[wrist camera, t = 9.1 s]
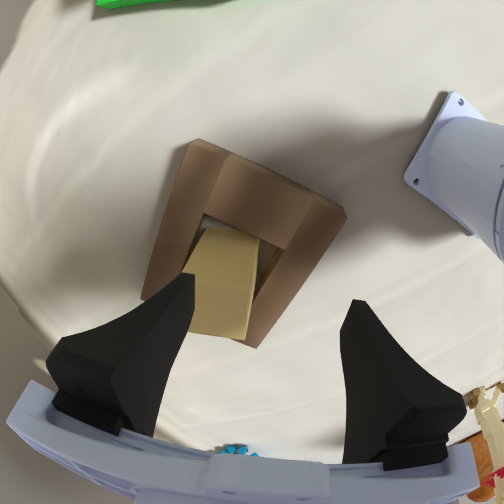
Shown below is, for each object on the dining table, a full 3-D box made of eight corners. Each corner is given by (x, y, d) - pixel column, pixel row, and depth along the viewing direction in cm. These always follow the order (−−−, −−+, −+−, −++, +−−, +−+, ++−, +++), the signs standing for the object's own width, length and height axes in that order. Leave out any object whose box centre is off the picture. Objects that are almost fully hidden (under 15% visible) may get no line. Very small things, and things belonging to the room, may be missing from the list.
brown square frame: (342, 207, 20) (347, 218, 18) (258, 333, 27) (256, 348, 25) (198, 138, 19) (189, 143, 17) (148, 285, 26) (140, 299, 24)
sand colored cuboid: (260, 232, 22) (248, 289, 16) (256, 276, 24) (245, 340, 18) (207, 226, 22) (176, 280, 16) (207, 271, 24) (183, 330, 18)
